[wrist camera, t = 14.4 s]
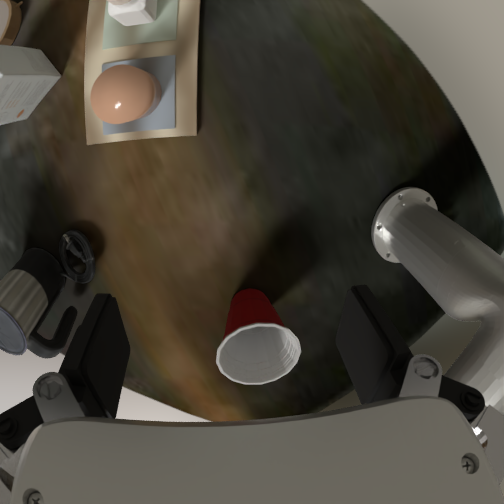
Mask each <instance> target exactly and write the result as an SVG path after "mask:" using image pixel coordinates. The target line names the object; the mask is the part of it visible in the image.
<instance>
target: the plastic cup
mask: <svg viewBox="0 0 504 504" xmlns="http://www.w3.org/2000/svg"><path fill="white" fill-rule="evenodd" d="M300 353H301V348H300V344H299V339H298V338H297V337H296V336H295V335H294V334H293V333H292V332H291V331H290V330H289V329H288V328H286V327H285V326H284V324H283V323H282V321H281V319H280V317H279V316H278V314H277V312H276V311H275V309H274V307H273V306H272V305H271V303H270V301H269V299H268V298H267V297H266V295H265V294H264V293H263V292H262V291H259V290H257V289H245V290H241V291H240V292H238V293H237V294H235V296H234V297H233V299H232V301H231V305H230V311H229V313H228V319H227V324H226V330H225V335H224V337H223V341H222V343H221V344H220V346H219V347H218V350H217V359H216V363H217V365H218V367H219V369H220V371H221V373H222V374H224V375H225V376H226V377H228V378H229V379H230V380H232V381H235V382H239V383H242V384H264V383H267V382H271V381H275V380H277V379H279V378H280V377H282V376H284V375H285V374H287V373H288V372H289V371H290V370H291V369H292V368H293V367H294V366H295V365H296V363H297V362H298V359H299V356H300Z"/></svg>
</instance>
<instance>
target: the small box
mask: <svg viewBox="0 0 504 504" xmlns="http://www.w3.org/2000/svg"><path fill="white" fill-rule="evenodd" d="M60 77H61V75H60V73H59V72H58V71H57V70H56V68H55V67H54V66H53V65H52V63H51V62H50V61H49V60H48V58H47V57H46V56H45V55H44V53H43V52H42V51H41V50H40V49H33V48H26V47H18V46H9V45H0V125H3V124H7V123H11V122H15V121H19V120H24V119H27V118H28V117H29V116H30V114H31V113H32V112H33V110H34V109H35V108H36V106H37V105H38V104H39V103H40V101H41V100H42V99H43V98H44V96H45V95H46V94H47V93H48V91H49V90H50V89H51V88H52V87H53V85H54V84H55V83H56V82H57V81H58V80H59V79H60Z"/></svg>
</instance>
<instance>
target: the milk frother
mask: <svg viewBox="0 0 504 504" xmlns="http://www.w3.org/2000/svg"><path fill="white" fill-rule="evenodd" d="M67 242H68V244H67ZM66 244H67V247H66ZM66 249H67V250H70V251H71V252H72V253H73V254H75V255H76V256H77V257H78V258H81V259H82V261H83V262H84V263H86V270H85V272H84V273H78V272H76V271H75V270H74V269H73V268H72V266H71V265H70V263H69V260H68V258H67V253H66ZM59 253H60V257H61V261H62V263H63V266H64V268H65V269H66V271H67V272H68V273H69V275H70V276H69V275H67V274H66V273H64V272H63V269H62V267H61V265H60V264H59V262H58V261H57V260H56V259H55V257H54V256H53V255H51V254H50V253H49V252H47V251H46V250H43V249H41V248H30V249H28V250H26V251H25V252H24V253H23V255H22V257H21V259H20V260H19V261H18V262H17V263H16V265H15V266H14V267H13V268H12V269H11V270H10V271H9V272H8V274H7V275H6V276H5V277H4V278H3V279H2V280H1V281H0V349H1V350H3V351H5V352H7V353H9V354H13V355H22V354H23V353H24V352H25V351H26V349H29V350H30V351H31V352H33V353H34V354H36V355H37V356H39V357H42V358H52V357H55V356H56V355H58V354H59V353H60V352H61V351H62V350H63V348H64V346H65V344H66V342H67V339H68V337H69V335H70V332H71V329H72V327H73V324H74V321H75V319H76V316H77V310H76V308H75V307H73V306H70V307H69V308H67V309H66V311H65V312H64V314H63V316H62V318H61V321H60V323H59V325H58V327H57V329H56V332H55V334H54V336H53V338H52V340H47V339H45V338H43V337H42V336H41V335H40V334H38V333H37V331H38V329H39V327H40V326H41V324H42V322H43V321H44V320H45V318H46V316H47V315H48V313H49V311H50V310H51V308H52V306H53V304H54V303H55V301H56V300H57V298H58V297H59V295H60V293H61V292H62V290H63V288H64V285H65V277H68V278H70V279H71V280H73V281H75V282H78V283H82V284H83V283H87V282H89V281H91V280H92V278H93V277H94V274H95V259H94V254H93V250H92V247H91V245H90V243H89V241H88V239H87V238H86V236H84V234H82V233H81V232H80V231H78V230H69V231H67V232H66V233H64V235H63V236H62V238H61V240H60V243H59Z"/></svg>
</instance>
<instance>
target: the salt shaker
mask: <svg viewBox="0 0 504 504" xmlns="http://www.w3.org/2000/svg"><path fill="white" fill-rule="evenodd" d="M107 1H108V13H109V15H110V16H111V17H113V18H114V19H116V20H117V21H118V22H120V23H121V24H123V25H124V26H132V25H139V24H146V23H151V22H154V21H155V19H156V12H157V0H107Z"/></svg>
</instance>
